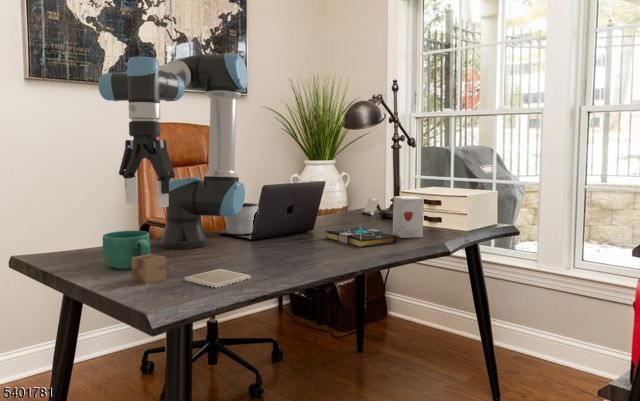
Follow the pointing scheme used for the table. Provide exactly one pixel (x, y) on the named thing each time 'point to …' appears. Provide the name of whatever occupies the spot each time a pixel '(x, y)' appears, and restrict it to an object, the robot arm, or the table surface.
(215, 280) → the coaster
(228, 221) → the planter
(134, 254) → the mug
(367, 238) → the book
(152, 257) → the walnut cube
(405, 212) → the supplement box
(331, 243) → the table surface
